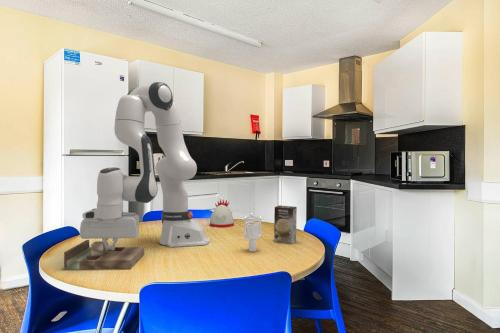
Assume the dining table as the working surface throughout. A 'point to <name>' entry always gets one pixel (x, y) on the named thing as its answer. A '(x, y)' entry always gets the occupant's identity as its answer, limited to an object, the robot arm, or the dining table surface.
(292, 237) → the coffee box
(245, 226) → the clear glass tall piece
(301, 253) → the dining table surface
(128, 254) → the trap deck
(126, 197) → the robot arm
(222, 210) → the kitchen timer
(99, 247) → the cube
